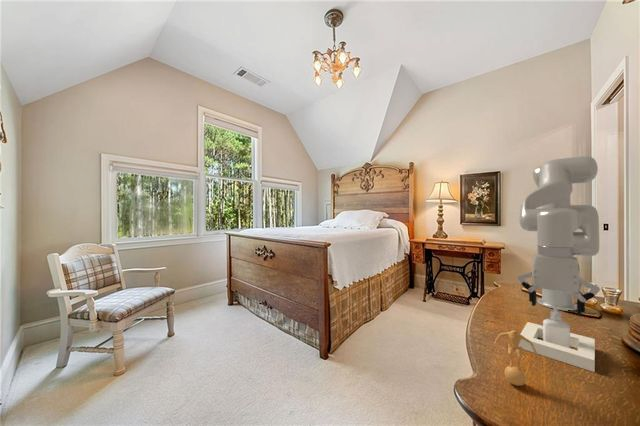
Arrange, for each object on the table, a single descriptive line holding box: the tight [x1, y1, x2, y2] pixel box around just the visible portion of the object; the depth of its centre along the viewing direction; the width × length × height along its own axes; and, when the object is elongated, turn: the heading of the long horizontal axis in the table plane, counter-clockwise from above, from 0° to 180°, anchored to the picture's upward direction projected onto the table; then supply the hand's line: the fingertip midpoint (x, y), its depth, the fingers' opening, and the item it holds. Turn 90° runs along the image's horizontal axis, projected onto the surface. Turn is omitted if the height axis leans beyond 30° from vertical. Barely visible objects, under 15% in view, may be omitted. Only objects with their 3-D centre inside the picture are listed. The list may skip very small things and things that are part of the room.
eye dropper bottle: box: [542, 307, 571, 349], centre depth 71 cm, size 4×6×12 cm
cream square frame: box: [518, 321, 596, 373], centre depth 71 cm, size 15×15×3 cm
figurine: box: [493, 329, 539, 387], centre depth 58 cm, size 8×6×12 cm
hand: (555, 309), depth 72 cm, fingers open, 9 cm apart
